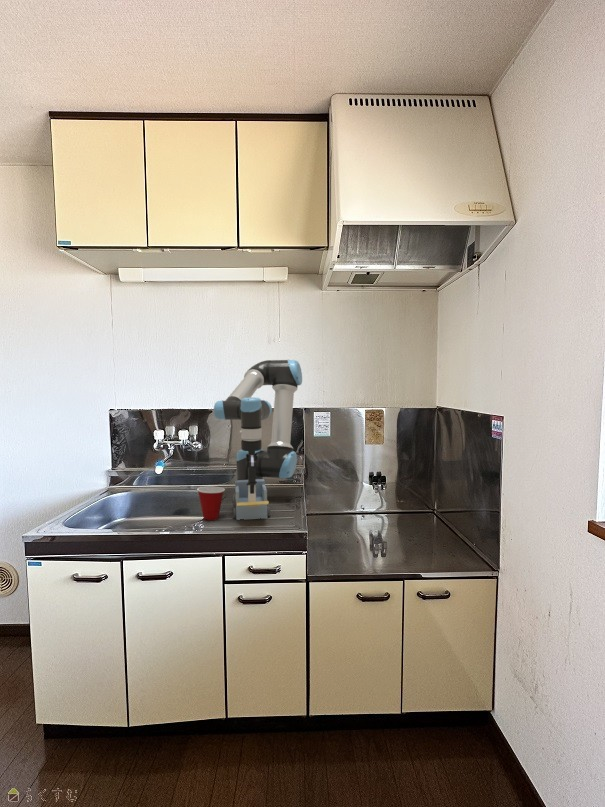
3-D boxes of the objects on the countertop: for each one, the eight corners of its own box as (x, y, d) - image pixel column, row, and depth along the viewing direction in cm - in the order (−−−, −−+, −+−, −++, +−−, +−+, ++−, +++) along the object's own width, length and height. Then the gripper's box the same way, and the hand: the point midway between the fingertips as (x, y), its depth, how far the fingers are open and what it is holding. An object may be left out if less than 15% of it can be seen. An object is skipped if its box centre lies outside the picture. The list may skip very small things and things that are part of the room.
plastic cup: (230, 519, 183) (229, 489, 182) (203, 524, 178) (202, 493, 177) (219, 512, 192) (218, 483, 192) (193, 517, 187) (193, 487, 186)
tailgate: (236, 503, 181) (237, 502, 173) (266, 502, 183) (268, 500, 175) (236, 508, 181) (237, 507, 172) (266, 506, 183) (268, 505, 174)
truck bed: (232, 509, 196) (232, 480, 195) (267, 507, 198) (266, 478, 197) (233, 520, 182) (232, 488, 181) (270, 517, 184) (269, 486, 184)
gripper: (240, 436, 180) (241, 496, 183) (241, 442, 168) (242, 507, 170) (260, 436, 181) (260, 495, 184) (262, 442, 169) (263, 505, 171)
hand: (252, 501), depth 177 cm, fingers closed
